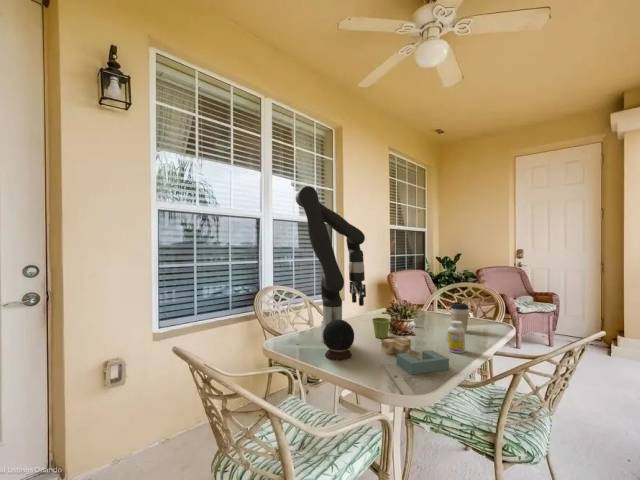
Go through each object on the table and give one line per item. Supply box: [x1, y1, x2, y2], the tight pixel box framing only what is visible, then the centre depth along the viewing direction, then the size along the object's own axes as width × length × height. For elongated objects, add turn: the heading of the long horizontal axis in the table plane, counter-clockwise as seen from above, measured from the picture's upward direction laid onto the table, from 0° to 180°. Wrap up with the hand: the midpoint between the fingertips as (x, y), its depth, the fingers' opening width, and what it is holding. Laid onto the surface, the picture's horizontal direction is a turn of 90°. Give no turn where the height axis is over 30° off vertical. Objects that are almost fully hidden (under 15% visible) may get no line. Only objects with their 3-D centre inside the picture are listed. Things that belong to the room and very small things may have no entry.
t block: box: [380, 336, 412, 355], centre depth 137 cm, size 12×10×5 cm
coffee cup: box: [450, 301, 469, 333], centre depth 171 cm, size 9×9×15 cm
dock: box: [396, 349, 450, 376], centre depth 121 cm, size 16×10×4 cm, turn 107°
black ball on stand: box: [323, 319, 355, 362], centre depth 134 cm, size 13×13×15 cm
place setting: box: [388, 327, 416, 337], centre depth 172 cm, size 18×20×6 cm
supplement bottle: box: [447, 320, 466, 354], centre depth 139 cm, size 7×7×13 cm
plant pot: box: [371, 317, 392, 340], centre depth 161 cm, size 9×9×9 cm
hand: (357, 304), depth 157 cm, fingers open, 8 cm apart
